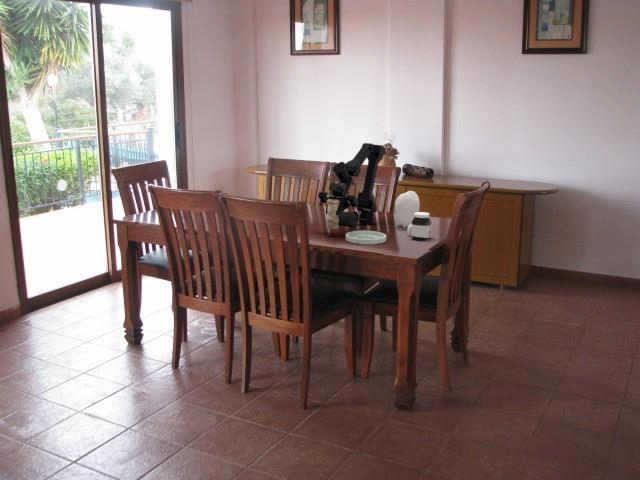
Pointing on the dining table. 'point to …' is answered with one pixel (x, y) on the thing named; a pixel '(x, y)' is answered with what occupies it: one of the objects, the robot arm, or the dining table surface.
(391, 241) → the dining table surface
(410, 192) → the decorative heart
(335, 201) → the bead tower
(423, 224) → the spread jar
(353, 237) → the round tray
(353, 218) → the drinking cup
